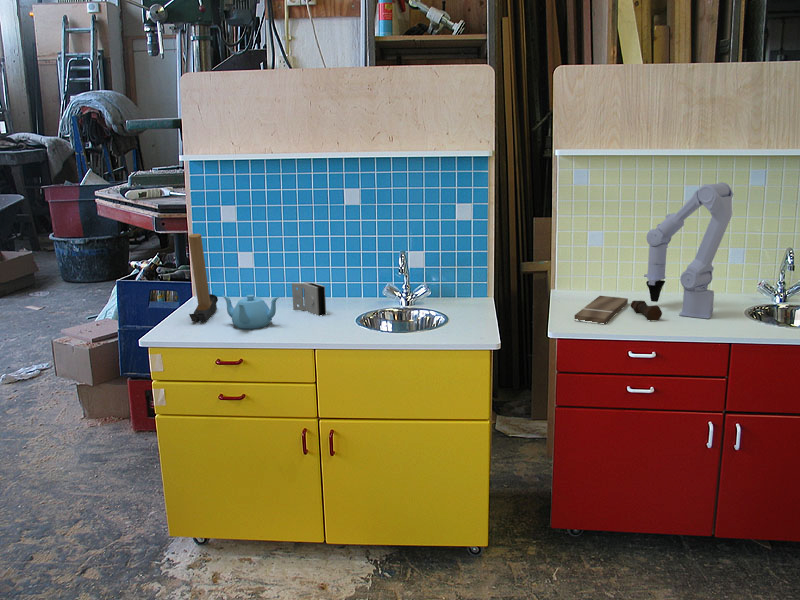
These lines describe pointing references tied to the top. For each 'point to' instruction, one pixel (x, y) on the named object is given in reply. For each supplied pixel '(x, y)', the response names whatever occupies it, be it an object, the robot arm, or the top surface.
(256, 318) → the teapot
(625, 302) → the plank
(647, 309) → the bolt
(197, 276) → the hammer
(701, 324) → the top surface
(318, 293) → the hinge
